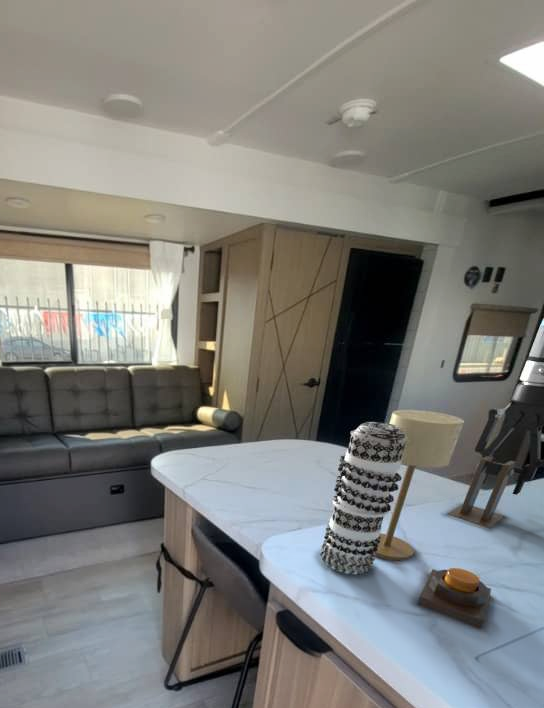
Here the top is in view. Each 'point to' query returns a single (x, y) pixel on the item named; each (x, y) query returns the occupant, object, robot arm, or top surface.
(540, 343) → the robot arm
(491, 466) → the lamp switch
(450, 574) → the button
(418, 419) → the lamp
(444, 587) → the button block
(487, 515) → the stand
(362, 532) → the decorative candle
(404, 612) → the top surface
